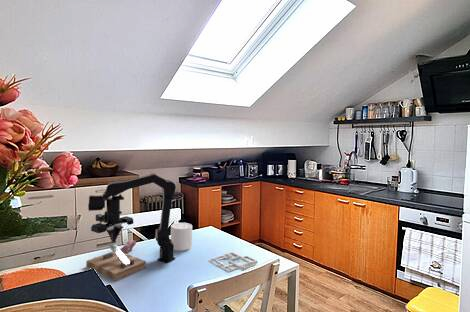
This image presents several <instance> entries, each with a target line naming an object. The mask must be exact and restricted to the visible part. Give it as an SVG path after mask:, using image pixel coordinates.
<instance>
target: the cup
mask: <svg viewBox="0 0 470 312" xmlns="http://www.w3.org/2000/svg"><path fill="white" fill-rule="evenodd" d="M170 239H171V241H172V243H173V245H174V248H173V251H177V252H178V251H181V252H183V251H187V250H190V249H192V247H193V225H192V224H191V223H188V222H175V223H172V224H171V225H170Z"/></svg>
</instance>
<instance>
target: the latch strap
mask: <svg viewBox="0 0 470 312" xmlns="http://www.w3.org/2000/svg"><path fill="white" fill-rule="evenodd" d="M108 248H109V249H110V250H111V252H113V253H114V254H115V255H116V256H117V258H118V259H119V260H120V261H121V262H122V263H125V267H126V266H128V265H130V264H131V262H130V261H129V260H128V259H127V257H126V256H125V255H124V254H123V253H122V251H121V250H120V249H121V248H119V247H118V245H117V244H116V243H113V244H111V245H109V246H108Z"/></svg>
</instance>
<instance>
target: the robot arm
mask: <svg viewBox="0 0 470 312" xmlns="http://www.w3.org/2000/svg"><path fill="white" fill-rule="evenodd" d="M152 183H154V184H155V185H156V186H158V187H160V188H161V192H162V204H161V214H160V215H161V216H160V223H159V224H160V225H159V227H158V228H155V235H154V238H155V241H156V242H157V245H158V246H159V253H158V254H159V257H158V258H157V261H159V262H162V263H165V264H167V263H169V262H172V261H174V260H176V257H175V256H174V250H173V248H174V245H173V243H172V241H171V238H170V232H169V230H170V229H169V225H170V217H171V207H172V200H173V198H174V195H175V192H176V189H177V188H176V184H175V182H174V181H172V180H170V179H165V178H163V177H161V176H159V175H158V174H156V173H150V174H148V175H144V176H140V177H136V178H132V179H129V180H115V181H111V182H109V183H108V184H107V186H106V189H105V191H104V192H103V193H102V195H94V194H93V195H89V196H88V205H87V206H88V208H87V209H88V212H92V211H95V212H96V211H103V209H105V208H106V210H105V211H104V213H103V214H102V213H98V214H95V221H96V222H99V223H94V224H92V225H91V227H90V229H91V230H90V231H91V232H93V233H96V234H101V233H105V232H107V234H108V236H109V239H110V241H111V243H113V244H115V242H116V241H117V238H118V237H119V235H120V233H121V231H122V229H124V226H123V224H127V225H133V224H134V218H133V217H131V216H127V215H125V216H121V214H122V212H123V211H121V201H123V200H125V197H124V196H123V195H122V193H124V192H126V191H128V190H130V189H135V188H137V187H143V186H146V185H149V184H152Z"/></svg>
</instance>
